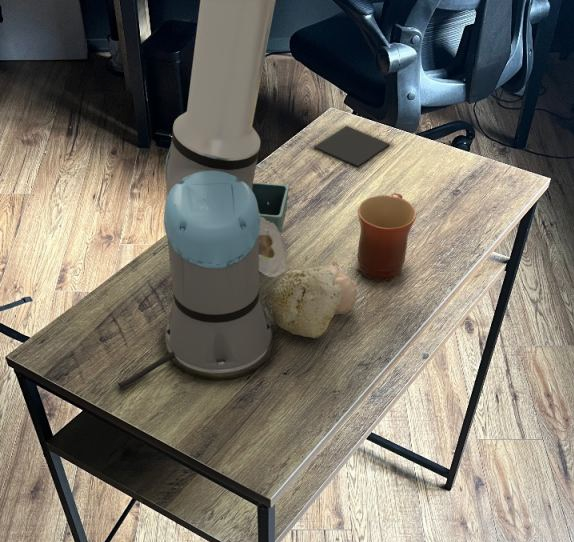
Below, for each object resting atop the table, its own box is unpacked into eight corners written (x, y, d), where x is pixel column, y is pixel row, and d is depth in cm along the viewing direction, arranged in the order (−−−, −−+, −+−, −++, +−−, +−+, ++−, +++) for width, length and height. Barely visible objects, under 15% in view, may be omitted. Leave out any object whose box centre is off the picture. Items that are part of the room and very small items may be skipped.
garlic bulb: (310, 318, 124) (337, 288, 128) (347, 326, 121) (373, 295, 124) (303, 280, 119) (330, 250, 123) (341, 287, 116) (367, 256, 120)
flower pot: (225, 261, 130) (223, 211, 123) (235, 229, 136) (233, 179, 128) (280, 267, 130) (281, 217, 123) (288, 235, 135) (289, 184, 128)
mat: (357, 167, 148) (357, 165, 148) (314, 148, 152) (314, 146, 152) (389, 145, 153) (389, 143, 153) (346, 127, 157) (346, 125, 156)
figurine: (299, 230, 123) (212, 241, 129) (272, 188, 114) (180, 201, 120) (288, 295, 120) (200, 302, 126) (259, 256, 111) (166, 266, 118)
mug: (399, 292, 127) (408, 234, 118) (345, 279, 128) (350, 221, 120) (417, 248, 134) (427, 191, 125) (366, 237, 135) (372, 179, 127)
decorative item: (276, 353, 122) (247, 290, 119) (320, 328, 126) (293, 266, 123) (316, 345, 112) (286, 276, 109) (364, 318, 115) (336, 250, 112)
